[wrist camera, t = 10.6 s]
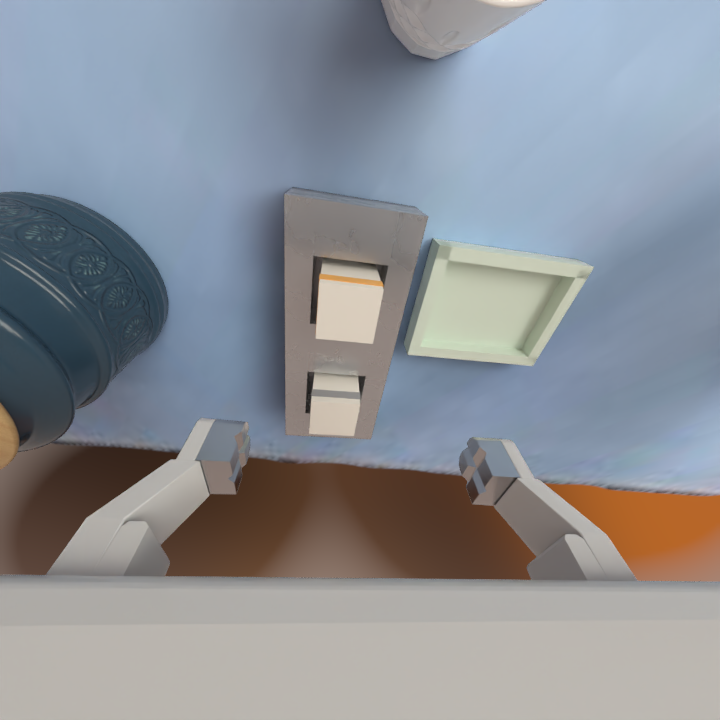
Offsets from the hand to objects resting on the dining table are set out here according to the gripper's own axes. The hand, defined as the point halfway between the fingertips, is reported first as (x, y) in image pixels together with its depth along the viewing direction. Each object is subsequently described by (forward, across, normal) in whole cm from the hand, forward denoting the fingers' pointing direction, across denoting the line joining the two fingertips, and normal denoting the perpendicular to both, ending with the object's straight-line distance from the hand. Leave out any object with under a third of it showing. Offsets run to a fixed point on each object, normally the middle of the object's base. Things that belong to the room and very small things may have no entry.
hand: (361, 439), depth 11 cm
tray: (+17, -12, +1) cm, 21 cm away
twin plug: (+16, +1, +10) cm, 19 cm away
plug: (+16, +1, 0) cm, 16 cm away
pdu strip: (+17, +1, +5) cm, 18 cm away
